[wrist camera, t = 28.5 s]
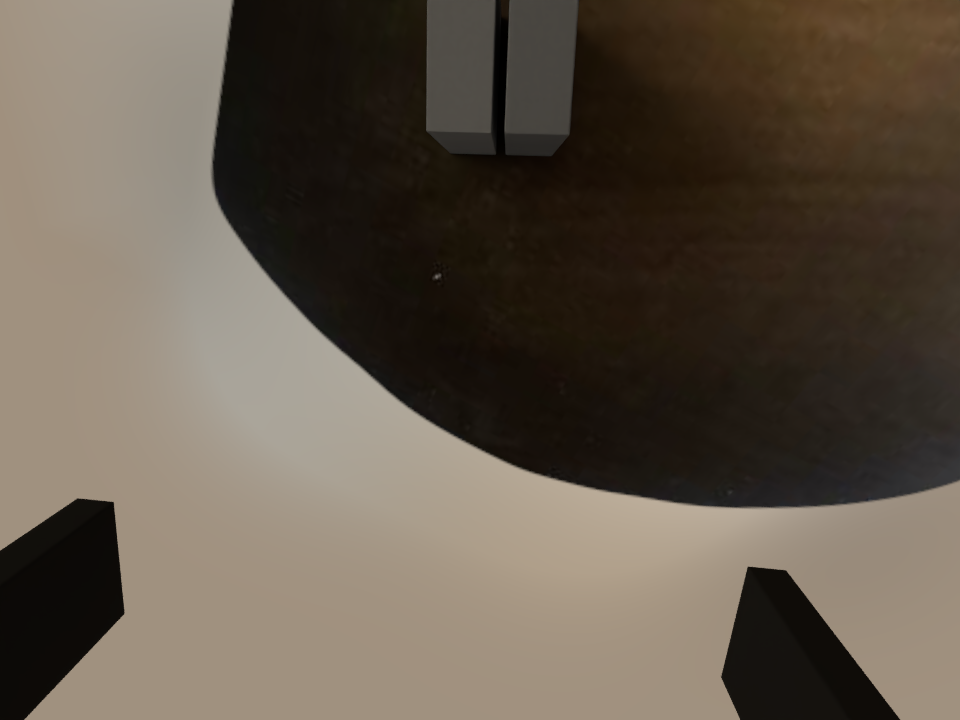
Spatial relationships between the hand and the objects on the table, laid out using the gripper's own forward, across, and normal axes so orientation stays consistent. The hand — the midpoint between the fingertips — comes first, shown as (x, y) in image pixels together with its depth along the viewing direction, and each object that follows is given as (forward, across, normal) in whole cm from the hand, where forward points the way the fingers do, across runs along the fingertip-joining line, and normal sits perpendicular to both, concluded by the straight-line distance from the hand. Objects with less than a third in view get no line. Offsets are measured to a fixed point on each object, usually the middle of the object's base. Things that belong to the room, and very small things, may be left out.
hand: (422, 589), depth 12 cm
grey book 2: (+29, +2, +15) cm, 32 cm away
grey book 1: (+29, -2, +15) cm, 32 cm away
